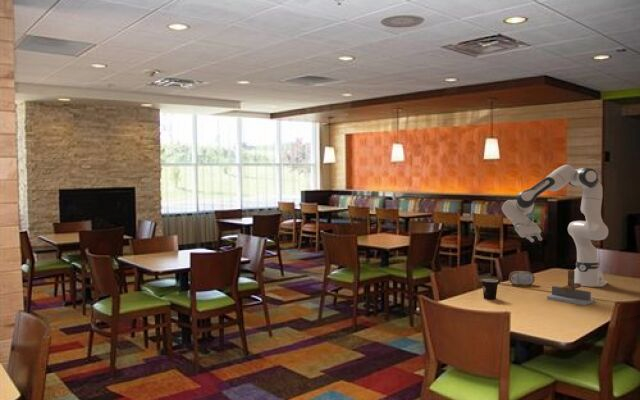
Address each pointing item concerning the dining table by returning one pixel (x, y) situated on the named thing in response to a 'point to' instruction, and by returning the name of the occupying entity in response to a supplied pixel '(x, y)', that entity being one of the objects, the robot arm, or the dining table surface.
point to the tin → (521, 278)
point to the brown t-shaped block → (570, 282)
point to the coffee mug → (489, 288)
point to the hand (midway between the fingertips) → (537, 240)
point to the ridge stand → (571, 296)
